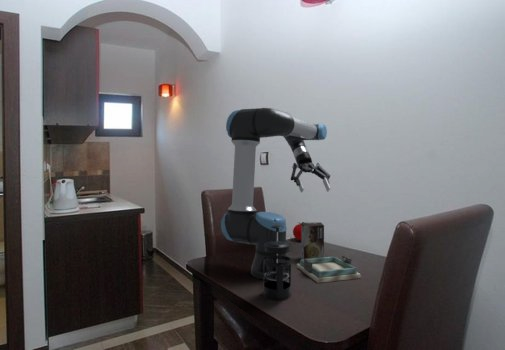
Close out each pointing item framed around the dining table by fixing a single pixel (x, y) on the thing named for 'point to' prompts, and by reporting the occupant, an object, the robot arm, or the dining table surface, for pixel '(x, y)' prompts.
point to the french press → (277, 270)
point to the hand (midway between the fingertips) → (315, 190)
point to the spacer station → (329, 269)
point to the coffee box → (312, 240)
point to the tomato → (297, 231)
